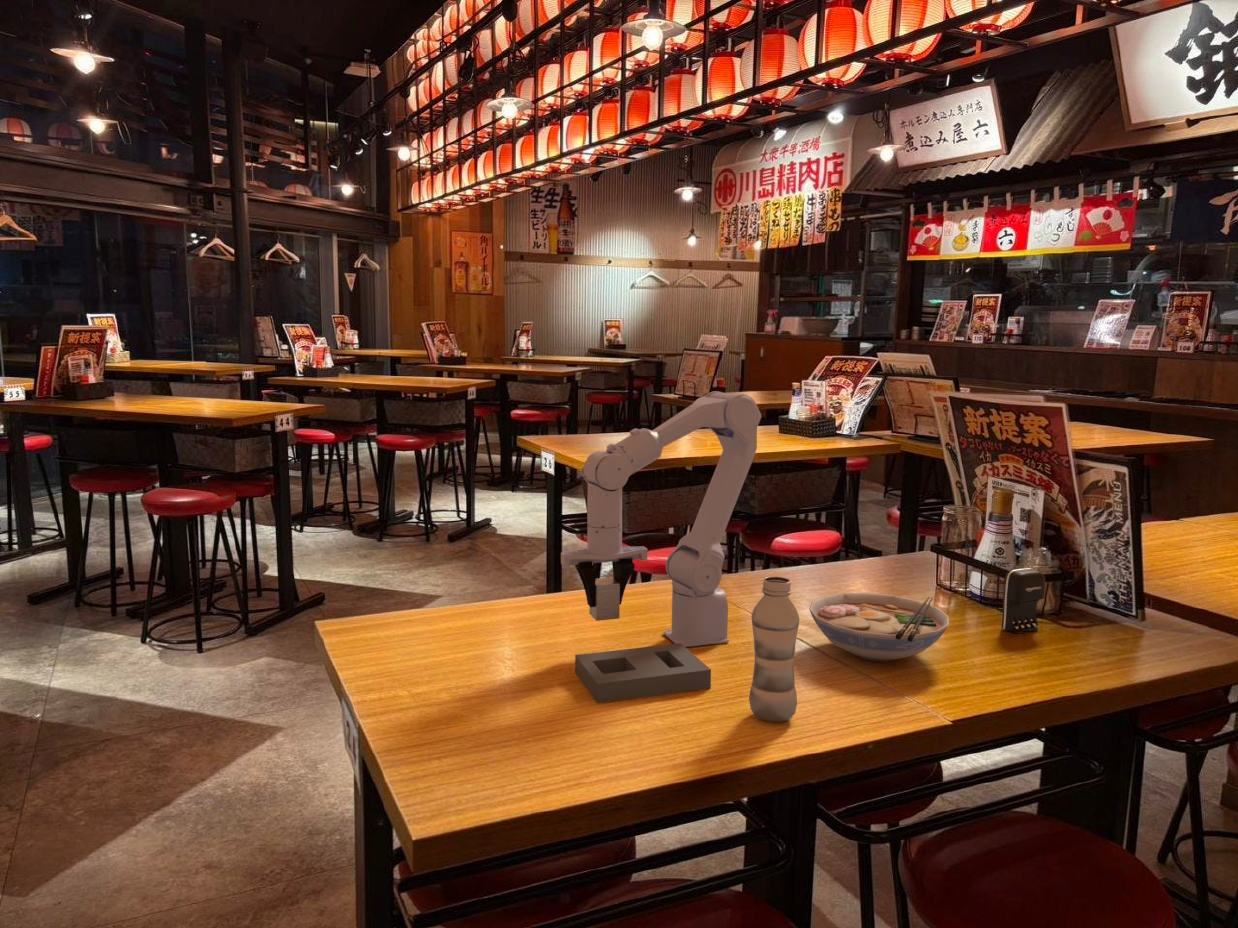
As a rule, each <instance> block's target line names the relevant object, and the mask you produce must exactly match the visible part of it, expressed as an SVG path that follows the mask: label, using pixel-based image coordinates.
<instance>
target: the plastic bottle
mask: <svg viewBox="0 0 1238 928" xmlns="http://www.w3.org/2000/svg"><path fill="white" fill-rule="evenodd" d="M791 584H792V583H791V579H789V578H788V577H783V576H766V577H764V578H763V581H762V585H763V586H762V589H761V590H762V591H761V593H763V596H762V597H761V598H760V599H759V601H758V602H757V603H756V605H755V606H754V607H753V609H752V612H751V626H752V634H753V641H754V642H753V644H754V645H753V647H754V649H753V651H754V663H753V664H754V665H753V674H752V682H751V686H750V690H749V697H748V700H749V707H750V711H751V712H752V713H753V714H754V716H755V717H756V718H758V719H760V720H763V721H765V722H770V723H782V722H787V721H789V720H791V719H792V718H793V716H794V715H795V714H796V710H797V705H798V697H797V690H796V686H795V684H796V683H795V682H796V681H795V668H794V667H795V666H794V663H795V657H794V656H795V650H796V642H797V637H798V630H799V625H800V616H799V612H798V610H797V608H796V606H795V605H794V603H793V602H792V600H791V598H790V597H789V596H791V594H792V590H791V588H792V587H791V586H792V585H791Z"/></svg>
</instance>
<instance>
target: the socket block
mask: <svg viewBox="0 0 1238 928" xmlns="http://www.w3.org/2000/svg"><path fill="white" fill-rule="evenodd" d="M574 660H575V661H574V662H575V663H574V664H575V665H574V674H575V675H576V676H577V677H578V679H579V680H580V682H581V683H582V684H583V686H585V689H586V690H587V691H588V692H589V694H590V695H591V697H592V698H593V699H594V700H595V702H596V703H597V704H602V703H603V704H604V703H611V702H618V701H625V700H633V699H639V698H642V699H643V698H648V697H656V696H662V695H664V696H665V695H670V694H679V693H687V692H693V691H702V690H708V689H711V687H712V686H711V685H712V681H711V680H712V669H711V668H710V667H709V666H708V665H706V664H705V663H704V662H703V661H702V660H701V659H700V658H698V657H697V656H696V655H695V654H693V653H692V651H690V650H689V649H688V647H684V646H683V645H682V644H681V643H677V644H675V643H671V644H670V643H669V644H661V645H653V646H644V647H643V646H642V647H635V648H627V649H625V648H624V649H617V650H607V651H598V652H591V653H581V654H580V653H579V654H574Z"/></svg>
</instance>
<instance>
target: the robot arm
mask: <svg viewBox="0 0 1238 928" xmlns="http://www.w3.org/2000/svg"><path fill="white" fill-rule="evenodd" d="M761 419H762V413H761V412H760V410H759V407H758V405H757V402H756V401H755V399H754V398H753V397H752V396H750V395H748V394H744V393H743V394H742V393H739V394H736V393H728V392H722V391H717V390H714V391H711V392H709V393H707V394H705V396H701V397H699V398H697V399H695V401H694V402H693V403H691V404H690V405H689V406H687V407H685V408H684V409H683V410H681V411H679V412H678V413H676V414H675V415H674V416H672V417H671V418H669V419H667V420H666V421H665V422H662V423H661V424H660V425H658V426H657V427H655V428H654V429H652V430H651V429H649V428H645V427H644V428H643V427H642V428H640V429H639V428H635V427H634V428H633V429H631V430H630V431H629V434H630V435H628V436H627V437H625V438H623V439H622V440H620V441H618V442H616V443H615V444H614V443H610V444H608V445H606V450H605V451H599V450H598V451H594V452H592V453H591V454H590V455H588V457H586V460H585V461H584V463H583V467H581V468H580V470H581V471H580V472H581V475H582V478H583V479H584V480H585V482H586V484H587V497H586V498H587V513H586V514H587V515H586V516H587V518H586V519H587V531H586V532H587V537H586V538H587V541H586V542H587V548H581V549H577V550H576V549H575V550H570V551H565V552H564V551H562V552H560V565H562V566H563V567H570V566H572V565H573V566H574V567H575V569H576V571H577V572H578V576H579V577H580V581H581V582H582V585H583V588H584V593H585V596H586V602H587V605H588V606H590V607H595V581H596V579H597V573H598V571H597V569H595V565H594V564H599V563H611V565H612V576H613V577H612V578H614V579H615V580H616V581H617V582H618V583H620V605H622V600H623V597H624V593H625V591H626V587H627V584H628V583H629V580H630V578H631V575H632V574H633V573H634V571H635V566H636V565H635V563H634V562H633V561H636V560H640V561H648V548H647V547H645V546H644V545H643V546H623V487H624V486H625V485H626V484H627V482H628V480H629V477H630V476H632V475H634V474H635V473H637V472H638V471H640V470H642V469H644V467H647V466H648V465H650V464H652V463H653V462H655V461H656V460H658V459H660V458H661V456H662V452H663V450H664V448H665V447H666V446H668V445H670V444H673V443H674V442H675V441H678V440H680V439H682V438H684V437H686V436H687V435H689V434H691V433H693V432H695V431H697V430H699V429H701V428H709V429H710V430H711V432H713V433H714V435H715V436H716V437H717V439H718V441H719V443H720V446H721V448H722V452H721V454H720V456H719V459H718V461H717V465H716V467H715V470H714V472H713V475H712V477H711V480H710V481H709V484H708V487H707V490H706V493H705V495H704V497H703V500H702V502H701V505H700V507H699V510H698V513H697V515H696V518H695V519H694V520H695V521H694V523H693V526H692V528H691V531H689V532H688V533H686V534H685V535H684V536H683V537H681V538H680V539H679V541H678V544H677V545H676V547H675V548H674V550H673V551H671V553H670V554H669V555H668V557H667V558H666V562H665V570H666V574H667V575H668V578H670V579H671V586H672V588H671V590H672V591H671V592H672V594H671V597H672V598H671V629H666V630H663V631H662V632H663V634H664V635H665V637H667V638H668V639H669V640H670V641H671V642H673V644H677V643H681V644H682V645H683V646H684V647H685V648H690V647H699V646H707V645H715V644H724V643H725V644H726V643H729V642H730V639H729V637H728V625H729V624H728V621H729V619H728V618H729V603H728V599H727V595H726V592H725V591H724V590H723V589H722V588H721V587H719V585H720V583H721V581H722V575H723V574H722V572H723V571H722V570H723V569H722V568H723V563H724V561H725V557H726V556H725V553H724V551H723V549H722V546H721V542H722V539H723V537H724V534H725V531H726V529H727V527H728V523H729V521H730V519H731V516H732V514H733V511H734V508H735V506H736V504H737V501H738V499H739V496H740V493H741V491H742V488H743V485H744V483H745V480H746V478H747V476H748V473H749V471H750V468H751V466H752V463H753V461H754V458H755V455H756V452H757V449H758V448H757V447H758V445H757V444H758V426H759V424H760V421H761Z"/></svg>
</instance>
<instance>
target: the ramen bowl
mask: <svg viewBox="0 0 1238 928" xmlns="http://www.w3.org/2000/svg"><path fill="white" fill-rule="evenodd" d="M933 599H934V598H933V597H931V599H930V596H929V597H927V599H926V600H925V601H924V602H923V601H920V600H917V599H914V598H908V597H902V596H898V595H892V594H883V593H873V592H872V593H871V592H841V593H836V594H831V595H824V596H822V597H819V598H817V599H815V600H813V601H811V603H810V605H809V608H808V610H809V612H810V614H811V615H810V616H811V617H812V619H813V620H814V622H815V623H816V625H817V627H818V628H819V630H820V631H821V632H822V633H823V635H824V636H825V637H826V638H827V639H828V641H829V642H831V643H832V644H833V645H835V646H836V647H838V648H840V649H842V650H844V651H846V652H848V653H851V654H853V655H855V656H857V657H859V658H861V659H863V660H867V661H873V662H874V661H875V662H891V661H895V660H898V659H903V658H909V657H914V656H916V655H919V654H920V653H922V652H924V651H926V650H927V649H929V648H931V647H932V646H933V645H934V644H935V643H936V642H937V641H938V640H939V639H940V638H941V637H942V636H943V634H945V632H946V631H947V628H948V627H949V625H950V619H949V615H948V614H947V613H945V612H944V611H942V610H941V609H940V608H938V607H936V606H933V605H931V602H932V601H933ZM928 601H929V602H928ZM927 602H928V603H927Z"/></svg>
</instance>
